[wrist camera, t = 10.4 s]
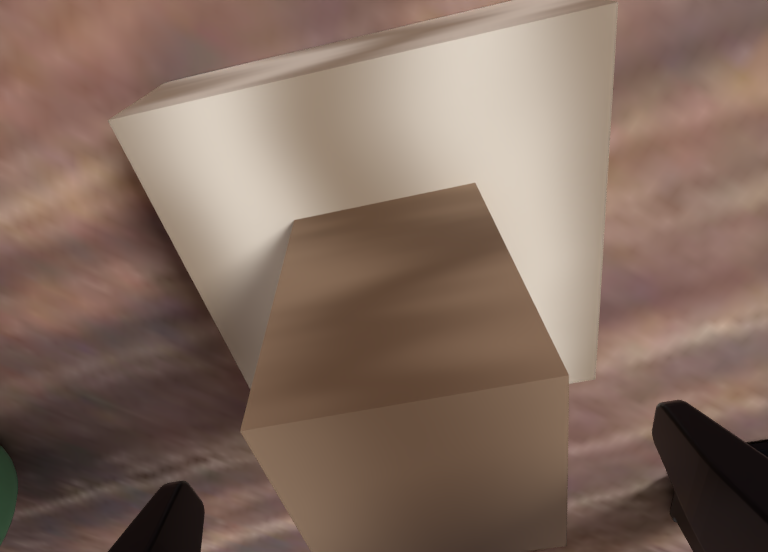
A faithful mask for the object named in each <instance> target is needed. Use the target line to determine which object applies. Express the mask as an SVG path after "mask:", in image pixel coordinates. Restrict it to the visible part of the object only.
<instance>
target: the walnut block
mask: <svg viewBox="0 0 768 552" xmlns="http://www.w3.org/2000/svg"><path fill="white" fill-rule="evenodd" d="M568 414H569V374H568V372H567V370H566V368H565V366H564V364H563V362H562V360H561V358H560V356H559V354H558V352H557V350H556V347H555V345H554V343H553V341H552V339H551V337H550V335H549V333H548V331H547V329H546V327H545V325H544V323H543V321H542V319H541V317H540V315H539V313H538V311H537V308H536V306H535V304H534V302H533V300H532V298H531V296H530V294H529V292H528V290H527V288H526V286H525V284H524V282H523V280H522V278H521V276H520V274H519V271H518V269H517V267H516V265H515V263H514V261H513V259H512V257H511V255H510V253H509V251H508V249H507V247H506V245H505V243H504V241H503V239H502V237H501V235H500V232H499V230H498V228H497V226H496V224H495V222H494V220H493V218H492V216H491V214H490V212H489V210H488V208H487V206H486V204H485V202H484V200H483V198H482V196H481V193H480V191H479V189H478V187H477V185H476V183H471V184H466V185H461V186H456V187H452V188H447V189H442V190H437V191H432V192H427V193H423V194H418V195H413V196H408V197H403V198H398V199H394V200H389V201H384V202H379V203H374V204H369V205H365V206H360V207H355V208H350V209H345V210H340V211H336V212H331V213H326V214H321V215H316V216H311V217H307V218H302V219H297V220H294V222H293V226H292V230H291V234H290V238H289V242H288V246H287V250H286V254H285V257H284V261H283V265H282V269H281V273H280V277H279V281H278V285H277V289H276V293H275V297H274V300H273V304H272V308H271V312H270V316H269V320H268V324H267V328H266V332H265V336H264V340H263V343H262V347H261V351H260V355H259V359H258V363H257V367H256V371H255V375H254V379H253V382H252V386H251V390H250V394H249V398H248V402H247V406H246V410H245V414H244V418H243V422H242V425H241V429H240V432H241V434H242V435H243V437H244V439H245V440H246V442H247V444H248V446H249V447H250V449H251V451H252V452H253V454H254V456H255V457H256V459H257V461H258V462H259V464H260V466H261V468H262V469H263V471H264V473H265V474H266V476H267V478H268V479H269V481H270V483H271V484H272V486H273V488H274V490H275V491H276V493H277V495H278V496H279V498H280V500H281V501H282V503H283V505H284V506H285V508H286V510H287V512H288V513H289V515H290V517H291V518H292V520H293V522H294V523H295V525H296V527H297V528H298V530H299V532H300V534H301V535H302V537H303V539H304V540H305V542H306V544H307V545H308V547H309V549H310V550H311V552H527V551H535V550H542V549H549V548H556V547H563V546H567V482H568Z"/></svg>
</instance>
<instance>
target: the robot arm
mask: <svg viewBox="0 0 768 552" xmlns="http://www.w3.org/2000/svg"><path fill="white" fill-rule="evenodd" d="M652 436H653V440H654V443H655V446H656V448H657V450H658V453H659V455H660V457H661V459H662V462H663V464H664V466H665V469H666V471H667V473H668V476H669V478H670V480H671V482H672V485H673V487H674V489H675V493H674V497H673V501H672V505H671V510H670V515H671V517H672V519H673V521H674V522H677V523H678V525H679V527H680V528H681V530H682V532H683V534H684V536H685V538H686V539H687V541H688V543H689V545H690V547H691V548H692V550H693V552H768V442H763V443H757V444H750V445H749V444H747V443H746V442H744V441H743V440H741V439H740V438H738V437H737V436H735V435H734V434H732V433H731V432H729V431H728V430H726V429H725V428H724V427H722V426H721V425H719V424H718V423H716V422H715V421H713V420H712V419H710V418H709V417H707V416H706V415H704V414H703V413H701V412H700V411H699V410H697V409H696V408H694V407H693V406H691V405H690V404H688V403H687V402H685V401H682V400H674V401H668V402H662V403H659V404H658V405H657V407H656V411H655V417H654V422H653V428H652ZM203 524H204V505H203V503H202V501H201V499H200V498H199V497H198V495H197V494H196V493H195V492H194V490H193V489H192V488H191V486H190V485H189V484H188V483H187V482H186V481H177V482H171V483H167V484H164V485H163V486H162V487H161V488H160V489H159V490H158V491H157V492H156V493H155V495H154V496H153V497H152V498H151V500H150V501H149V502H148V503H147V504H146V506H145V507H144V508H143V509H142V511H141V512H140V513H139V514H138V515H137V517H136V518H135V519H134V520H133V522H132V523H131V524H130V525H129V526H128V528H127V529H126V530H125V531H124V533H123V534H122V535H121V536H120V537H119V539H118V540H117V541H116V542H115V544H114V545H113V546H112V547H111V548H110V550H109V551H108V552H201V543H202V533H203Z"/></svg>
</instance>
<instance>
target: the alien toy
mask: <svg viewBox="0 0 768 552" xmlns="http://www.w3.org/2000/svg"><path fill="white" fill-rule="evenodd" d="M17 494H18V479H17V473H16V470H15V467H14V464H13V462H12V459H11V458H10V456H9V455H8V454H7V452H6V451H5V450H4V449H3V447H2V446H1V445H0V545H1V543H2V541H3V540H4V538H5V536H6V534H7V531H8V529H9V527H10V524H11V521H12V518H13V515H14V511H15V506H16V500H17Z"/></svg>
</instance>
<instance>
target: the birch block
mask: <svg viewBox="0 0 768 552" xmlns="http://www.w3.org/2000/svg"><path fill="white" fill-rule="evenodd" d="M617 13H618V2H615V1H610V0H512V1H508V2H504V3H500V4H495V5H491V6H487V7H483V8H478V9H474V10H470V11H466V12H462V13H457V14H453V15H449V16H445V17H440V18H436V19H432V20H428V21H424V22H419V23H415V24H411V25H407V26H402V27H398V28H394V29H390V30H385V31H381V32H377V33H373V34H369V35H364V36H360V37H356V38H352V39H347V40H343V41H339V42H335V43H331V44H326V45H322V46H318V47H314V48H309V49H305V50H301V51H297V52H292V53H288V54H284V55H280V56H276V57H271V58H267V59H263V60H259V61H254V62H250V63H246V64H242V65H237V66H233V67H229V68H225V69H221V70H216V71H212V72H208V73H204V74H199V75H195V76H191V77H187V78H183V79H178V80H174V81H170V82H166V83H164V84H162V85H161V86H159V87H158V88H156V89H154V90H153V91H151V92H150V93H148V94H147V95H145V96H144V97H142V98H141V99H139V100H138V101H136V102H135V103H133V104H132V105H130V106H129V107H127V108H126V109H124V110H123V111H121V112H120V113H118V114H117V115H115V116H114V117H112V118H111V119H109V120H108V122H109V124H110V126H111V128H112V129H113V131H114V133H115V135H116V137H117V139H118V141H119V143H120V145H121V146H122V148H123V150H124V152H125V154H126V156H127V158H128V160H129V162H130V163H131V165H132V167H133V169H134V171H135V173H136V175H137V177H138V179H139V180H140V182H141V184H142V186H143V188H144V190H145V192H146V194H147V196H148V197H149V199H150V201H151V203H152V205H153V207H154V209H155V211H156V213H157V214H158V216H159V218H160V220H161V222H162V224H163V226H164V228H165V230H166V231H167V233H168V235H169V237H170V239H171V241H172V243H173V245H174V246H175V248H176V250H177V252H178V254H179V256H180V258H181V260H182V262H183V263H184V265H185V267H186V269H187V271H188V273H189V275H190V277H191V279H192V280H193V282H194V284H195V286H196V288H197V290H198V292H199V294H200V296H201V297H202V299H203V301H204V303H205V305H206V307H207V309H208V311H209V313H210V314H211V316H212V318H213V320H214V322H215V324H216V326H217V328H218V330H219V331H220V333H221V335H222V337H223V339H224V341H225V343H226V345H227V347H228V348H229V350H230V352H231V354H232V356H233V358H234V360H235V362H236V364H237V365H238V367H239V369H240V371H241V373H242V375H243V377H244V379H245V381H246V382H247V384H248V386H249V388H250V390H251V386H252V382H253V379H254V375H255V371H256V367H257V363H258V359H259V355H260V351H261V347H262V343H263V340H264V336H265V332H266V328H267V324H268V320H269V316H270V312H271V308H272V304H273V300H274V297H275V293H276V289H277V285H278V281H279V277H280V273H281V269H282V265H283V261H284V257H285V254H286V250H287V246H288V242H289V238H290V234H291V230H292V226H293V222H294V220H297V219H302V218H307V217H311V216H316V215H321V214H326V213H331V212H336V211H340V210H345V209H350V208H355V207H360V206H365V205H369V204H374V203H379V202H384V201H389V200H394V199H398V198H403V197H408V196H413V195H418V194H423V193H427V192H432V191H437V190H442V189H447V188H452V187H456V186H461V185H466V184H471V183H476V185H477V187H478V189H479V191H480V193H481V196H482V198H483V200H484V202H485V204H486V206H487V208H488V210H489V212H490V214H491V216H492V218H493V220H494V222H495V224H496V226H497V228H498V230H499V232H500V235H501V237H502V239H503V241H504V243H505V245H506V247H507V249H508V251H509V253H510V255H511V257H512V259H513V261H514V263H515V265H516V267H517V269H518V271H519V274H520V276H521V278H522V280H523V282H524V284H525V286H526V288H527V290H528V292H529V294H530V296H531V298H532V300H533V302H534V304H535V306H536V308H537V311H538V313H539V315H540V317H541V319H542V321H543V323H544V325H545V327H546V329H547V331H548V333H549V335H550V337H551V339H552V341H553V343H554V345H555V347H556V350H557V352H558V354H559V356H560V358H561V360H562V362H563V364H564V366H565V368H566V370H567V372H568V374H569V384H570V383H576V382H582V381H588V380H594V379H595V377H596V361H597V344H598V327H599V311H600V294H601V278H602V261H603V245H604V228H605V212H606V195H607V178H608V162H609V145H610V129H611V112H612V96H613V79H614V63H615V46H616V29H617Z"/></svg>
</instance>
